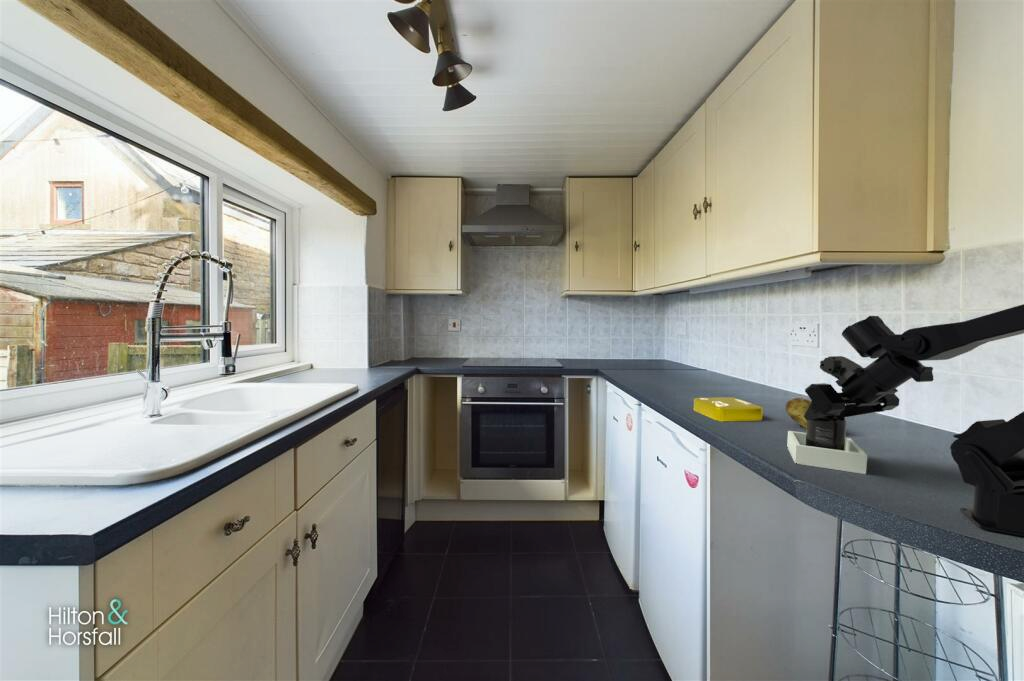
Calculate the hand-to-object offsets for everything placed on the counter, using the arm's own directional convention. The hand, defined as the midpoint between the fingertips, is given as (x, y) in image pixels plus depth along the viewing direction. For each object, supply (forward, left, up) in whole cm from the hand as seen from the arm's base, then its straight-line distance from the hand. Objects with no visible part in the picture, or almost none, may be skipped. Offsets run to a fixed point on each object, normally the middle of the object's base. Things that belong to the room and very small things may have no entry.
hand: (822, 417), depth 88 cm
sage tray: (-1, -1, -9) cm, 9 cm away
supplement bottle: (-1, -1, -8) cm, 9 cm away
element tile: (+32, +18, -10) cm, 38 cm away
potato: (+26, -3, -10) cm, 28 cm away
